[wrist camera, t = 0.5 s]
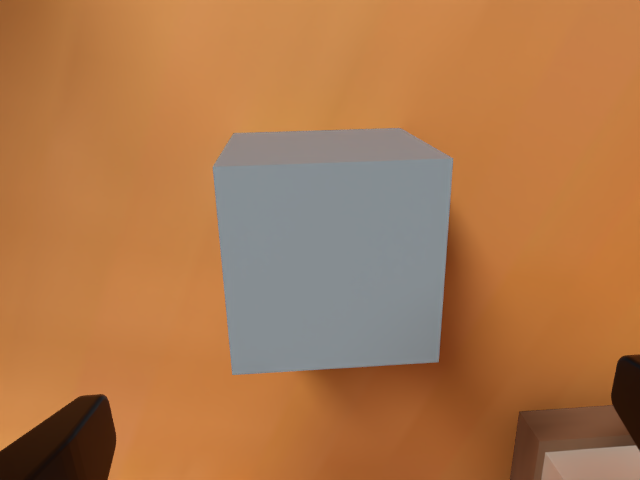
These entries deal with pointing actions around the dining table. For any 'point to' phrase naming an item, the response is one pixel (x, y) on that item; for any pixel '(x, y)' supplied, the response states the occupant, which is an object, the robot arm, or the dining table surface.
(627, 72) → the dining table surface
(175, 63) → the dining table surface
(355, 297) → the slate block
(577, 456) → the tower top
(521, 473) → the tower bottom
